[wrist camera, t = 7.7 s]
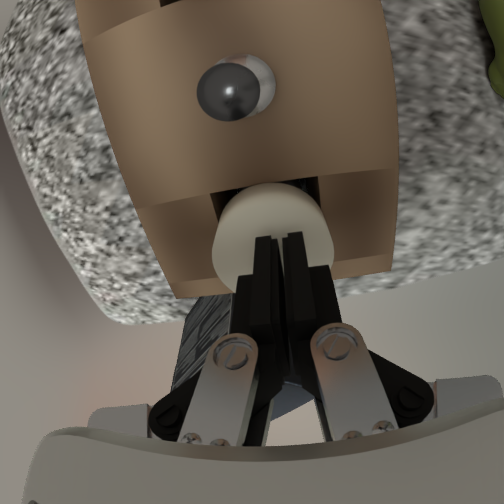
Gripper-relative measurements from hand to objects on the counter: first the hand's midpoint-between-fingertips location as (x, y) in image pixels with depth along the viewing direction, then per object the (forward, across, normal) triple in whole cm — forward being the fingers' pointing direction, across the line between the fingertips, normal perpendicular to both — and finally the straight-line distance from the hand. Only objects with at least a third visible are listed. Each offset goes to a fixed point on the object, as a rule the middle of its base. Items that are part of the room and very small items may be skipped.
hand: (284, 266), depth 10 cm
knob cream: (+8, +1, 0) cm, 8 cm away
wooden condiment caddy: (+9, +1, -6) cm, 11 cm away
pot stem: (+3, 0, -6) cm, 7 cm away
